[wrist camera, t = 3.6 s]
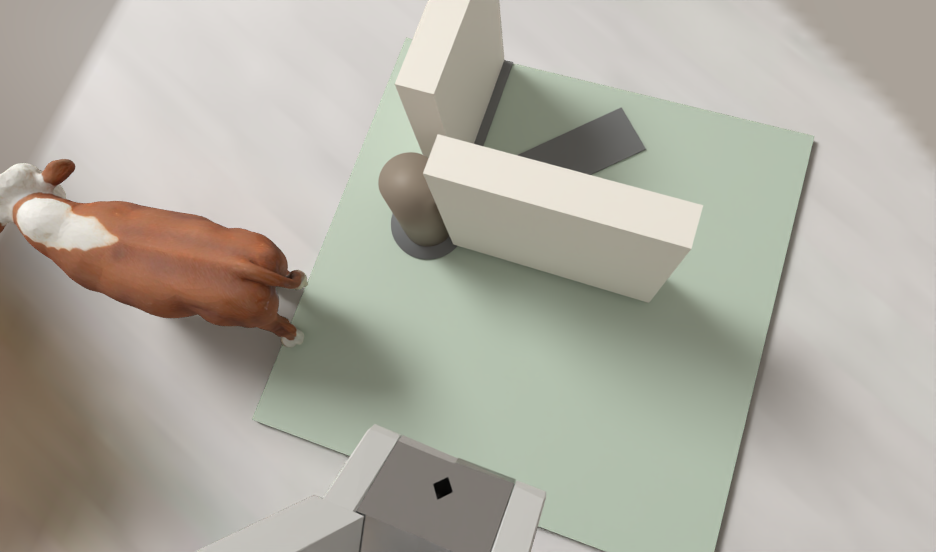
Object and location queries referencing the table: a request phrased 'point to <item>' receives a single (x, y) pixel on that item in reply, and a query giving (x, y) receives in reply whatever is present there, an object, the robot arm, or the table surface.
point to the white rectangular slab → (559, 218)
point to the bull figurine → (151, 254)
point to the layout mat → (557, 319)
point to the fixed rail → (441, 102)
